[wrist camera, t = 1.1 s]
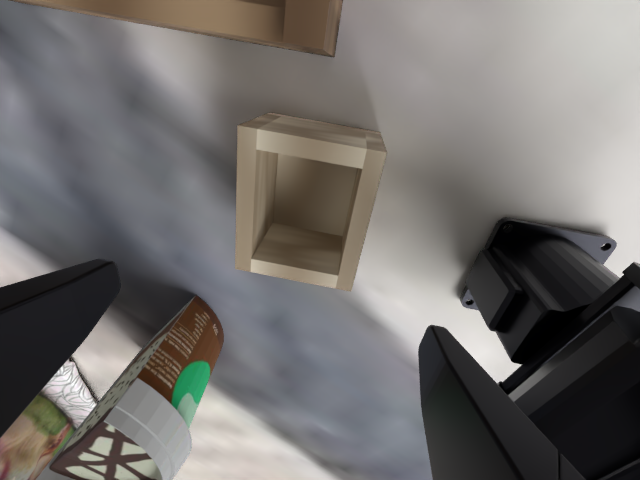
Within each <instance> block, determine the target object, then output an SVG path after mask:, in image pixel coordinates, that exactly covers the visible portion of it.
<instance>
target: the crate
mask: <svg viewBox="0 0 640 480" xmlns="http://www.w3.org/2000/svg"><path fill="white" fill-rule="evenodd" d="M10 1H15V2H19V3H25V4H31V5H37V6H42V7H48V8H54V9H60V10H65V11H71V12H77V13H83V14H88V15H94V16H100V17H106V18H111V19H117V20H123V21H129V22H134V23H140V24H146V25H152V26H157V27H163V28H169V29H175V30H180V31H186V32H192V33H197V34H203V35H209V36H215V37H220V38H226V39H232V40H238V41H243V42H249V43H255V44H261V45H266V46H272V47H278V48H284V49H289V50H295V51H301V52H307V53H312V54H318V55H324V56H330V57H334V56H335V49H336V42H337V36H338V29H339V22H340V16H341V9H342V2H343V0H10Z"/></svg>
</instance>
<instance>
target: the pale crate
mask: <svg viewBox="0 0 640 480" xmlns="http://www.w3.org/2000/svg"><path fill="white" fill-rule="evenodd" d="M386 155H387V151H386V148H385V145H384V142H383V139H382V137H381V134H380V132H376V131H370V130H365V129H359V128H353V127H348V126H342V125H337V124H331V123H326V122H320V121H315V120H309V119H304V118H298V117H293V116H287V115H281V114H276V113H270V112H269V113H267V114H264V115H262V116H260V117H257V118H255V119H252V120H250V121H247V122H245V123H242V124H240V125H238V126H237V190H236V254H235V269H239V270H244V271H249V272H254V273H259V274H264V275H269V276H274V277H279V278H284V279H290V280H295V281H300V282H305V283H310V284H315V285H320V286H325V287H330V288H335V289H341V290H346V291H351V290H352V286H353V282H354V278H355V274H356V271H357V267H358V263H359V259H360V255H361V251H362V248H363V244H364V240H365V236H366V232H367V228H368V224H369V221H370V217H371V213H372V209H373V205H374V201H375V198H376V194H377V190H378V186H379V182H380V178H381V174H382V171H383V167H384V163H385V159H386Z"/></svg>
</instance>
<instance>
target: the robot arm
mask: <svg viewBox="0 0 640 480" xmlns="http://www.w3.org/2000/svg"><path fill="white" fill-rule="evenodd" d="M506 225H510V226H509V228H507V229H503V228H504V227H505V226H506ZM605 243H606V244H605ZM603 244H605V245H604V246H603V247H601V246H602V245H603ZM615 248H616V242H615V240H613V239H612V238H610V237H608V236H604V235H599V234H593V233H588V232H583V231H577V230H572V229H567V228H561V227H556V226H550V225H545V224H540V223H534V222H529V221H524V220H518V219H513V218H503V219H501V220H499V221H498V223H497V224H496V226H495V228H494V230H493V232H492V234H491V236H490V238H489V240H488V242H487V244H486V246H485V248H484V249H483V250H481V251H480V253H479V255H478V257H477V259H476V261H475V263H474V265H473V267H472V269H471V271H470V274H469V276H468V278H467V280H466V282H465V283H466V287H465V289H464V291H463V293H462V295H461V297H460V301H461V303H462V305H463V306H464V307H466V308H470V309H475V310H479V311H480V313H481V315H482V317H483V319H484V321H485V323H486V325H487V326H488V328H489V329H490V331H495V332H496V333H497V335H498V337H499V339H500V341H501V342H502V344H503V346H504V348H505V350H506V352H507V354H508V356H509V358H510V359H511V361H512V362H514V363H518V364H523V365H521V366H520V367H519V368H518V369H517V370H516V371H515V372H514V373H512V374H511V375H510V376H509V377H508V378H507V379H506V380H504V381H503V382H499V383H498V384H497V383H496V382H495V381H494V380H493V379H492V378H491V377H490V376H489V375H488V373H487V372H486V371H485V370H484V369H483V368H482V367H481V366H480V365H479V364H478V363H477V362H476V360H475V359H474V358H473V357H472V356H471V355H470V354H469V353H468V352H467V351H466V350H465V349H464V347H463V346H462V345H461V344H460V343H459V342H458V341H457V340H456V339H455V338H454V337H453V336H452V334H451V333H450V332H449V331H448V330H447V329H446V328H444V327H440V326H435V325H430V326H428V328H427V330H426V332H425V334H424V336H423V339H422V341H421V343H420V345H419V351H418V355H419V374H420V394H421V408H422V415H423V422H424V428H425V434H426V440H427V446H428V453H429V459H430V465H431V471H432V477H433V480H640V264H638V263H636V262H633V263H632V264H631V265H630V266H629V267H627V268H626V269H625V270H624V271H623V272H622V273H623V274H624V275H623V276H622V277H621V278H619V277H618V276H617V275H615V274H614V273H613V272H611V271H610V270H609V269H608V268H606V267H605V266H604V265H603V264H604V263H605V261H606V260H607V259H608V257H609V256H610V255H611V253H612V252H613V251H614V249H615ZM120 287H121V283H120V278H119V274H118V269H117V265H116V264H115V262H113V261H109V260H104V259H96V260H92V261H89V262H86V263H82V264H79V265H75V266H72V267H69V268H65V269H62V270H58V271H55V272H51V273H48V274H45V275H41V276H38V277H34V278H31V279H28V280H24V281H21V282H17V283H14V284H11V285H7V286H4V287H0V438H1V437H2V436H3V435H4V433H5V432H6V431H7V430H8V429H9V428H10V426H11V425H12V424H13V423H14V422H15V421H16V419H17V418H18V417H19V416H20V415H21V414H22V412H23V411H24V410H25V409H26V408H27V407H28V405H29V404H30V403H31V402H32V401H33V400H34V398H35V397H36V396H37V395H38V394H39V393H40V391H41V390H42V389H43V388H44V387H45V386H46V385H47V383H48V382H49V381H50V380H51V379H52V378H53V376H54V375H55V374H56V373H57V372H58V371H59V369H60V368H61V367H62V366H63V365H64V364H65V362H66V361H67V360H68V359H69V358H70V357H71V355H72V354H73V353H74V352H75V351H76V350H77V348H78V347H79V346H80V345H81V344H82V342H83V341H84V340H85V339H86V337H87V336H88V335H89V333H90V332H91V331H92V329H93V328H94V327H95V325H96V324H97V322H98V321H99V320H100V318H101V317H102V315H103V314H104V312H105V311H106V310H107V308H108V307H109V305H110V304H111V303H112V301H113V300H114V298H115V297H116V295H117V294H118V292H119V290H120ZM468 299H471V300H470V301H467V300H468Z"/></svg>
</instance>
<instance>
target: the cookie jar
mask: <svg viewBox="0 0 640 480" xmlns="http://www.w3.org/2000/svg"><path fill="white" fill-rule="evenodd" d="M96 405H97V402H96V400H95V399H94V397H93V396H92V394H91V393H90V391H89V389H88V388H87V386H86V385H85V383H84V382H83V380H82V379H81V377H80V376H79V373H78V371H77V368H76V366H75V363H74V362H73V361H71V360H70V359H68V360H67V361H66V362H65V364H64V365H63V366H62V367H61V368H60V369H59V371H58V372H57V373H56V374H55V375H54V376H53V378H52V379H51V380H50V381H49V382H48V383H47V385H46V386H45V387H44V388H43V389H42V390H41V391H40V393H39V394H38V395H37V396H36V397H35V398H34V400H33V401H32V402H31V403H30V404H29V405H28V407H27V408H26V409H25V410H24V411H23V412H22V414H21V415H20V416H19V417H18V418H17V419H16V421H15V422H14V423H13V424H12V425H11V426H10V428H9V429H8V430H7V431H6V432H5V433H4V435H3V436H2V437H1V438H0V480H36V479H37V477H38V476H39V475H40V474H41V472H42V471H43V470H44V468H45V467H46V466H47V464H48V463H49V462H50V461H51V459H52V458H53V457H54V456H55V454H56V453H57V452H58V451H59V449H61V448H62V447H63V445H64V444H65V443H66V442H67V440H68V439H69V438H70V437H71V435H72V434H73V433H74V432H75V431H76V429H77V428H78V427H79V426H80V424H81V423H82V422H83V421H84V419H85V418H86V417H87V416H88V415H89V413H90V412H91V411H92V410H93V408H94V407H95V406H96Z"/></svg>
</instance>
